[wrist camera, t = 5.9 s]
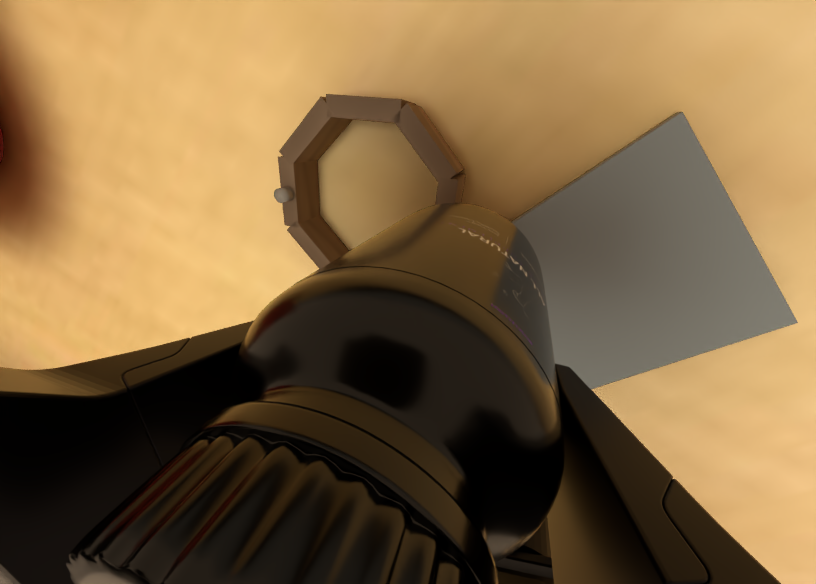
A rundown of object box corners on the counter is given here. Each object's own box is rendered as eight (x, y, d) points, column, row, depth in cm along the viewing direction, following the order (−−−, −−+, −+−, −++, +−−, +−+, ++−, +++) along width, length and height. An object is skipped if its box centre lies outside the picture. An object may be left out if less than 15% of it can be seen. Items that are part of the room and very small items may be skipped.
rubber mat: (788, 316, 16) (798, 322, 16) (560, 392, 22) (561, 398, 21) (676, 112, 14) (682, 111, 14) (459, 255, 20) (457, 259, 20)
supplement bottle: (562, 207, 11) (1086, 1023, 1) (522, 362, 14) (529, 954, 4) (380, 190, 13) (-174, 382, 3) (379, 330, 16) (122, 679, 6)
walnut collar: (497, 215, 18) (493, 230, 15) (374, 300, 23) (354, 322, 21) (383, 53, 17) (355, 36, 14) (277, 182, 22) (241, 189, 19)
